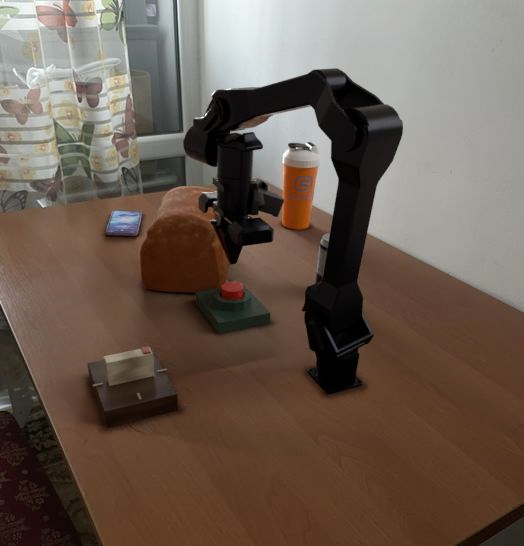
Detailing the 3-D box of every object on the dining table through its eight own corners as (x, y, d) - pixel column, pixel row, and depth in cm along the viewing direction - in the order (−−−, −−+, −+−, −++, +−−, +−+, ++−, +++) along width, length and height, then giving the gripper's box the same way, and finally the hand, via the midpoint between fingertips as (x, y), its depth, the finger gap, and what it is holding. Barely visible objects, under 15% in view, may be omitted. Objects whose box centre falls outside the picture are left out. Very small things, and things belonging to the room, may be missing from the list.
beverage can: (341, 302, 107) (349, 245, 100) (312, 298, 108) (318, 241, 101) (343, 289, 112) (351, 234, 105) (315, 286, 113) (322, 230, 106)
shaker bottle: (272, 220, 143) (277, 140, 131) (302, 216, 146) (309, 138, 135) (288, 232, 136) (294, 149, 125) (319, 228, 139) (328, 147, 128)
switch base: (180, 409, 78) (179, 392, 76) (104, 429, 74) (101, 411, 72) (156, 364, 87) (155, 348, 85) (87, 379, 83) (84, 362, 81)
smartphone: (141, 211, 141) (137, 233, 129) (142, 214, 142) (137, 236, 129) (112, 210, 140) (105, 232, 128) (112, 213, 141) (105, 235, 128)
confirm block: (269, 323, 99) (271, 303, 97) (218, 333, 95) (218, 313, 93) (243, 293, 108) (243, 275, 106) (195, 302, 104) (195, 283, 102)
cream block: (109, 386, 77) (106, 361, 74) (106, 379, 78) (103, 354, 76) (154, 376, 79) (152, 351, 77) (151, 369, 81) (149, 345, 78)
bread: (138, 291, 107) (132, 218, 98) (158, 242, 127) (154, 178, 119) (225, 296, 107) (226, 223, 99) (232, 246, 127) (233, 182, 119)
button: (246, 298, 99) (246, 289, 98) (226, 302, 98) (226, 293, 97) (237, 288, 102) (238, 280, 101) (217, 292, 100) (217, 283, 100)
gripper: (306, 187, 84) (298, 278, 92) (255, 155, 98) (252, 238, 106) (240, 193, 79) (237, 289, 88) (196, 160, 93) (198, 245, 102)
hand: (232, 263), depth 96 cm, fingers closed
